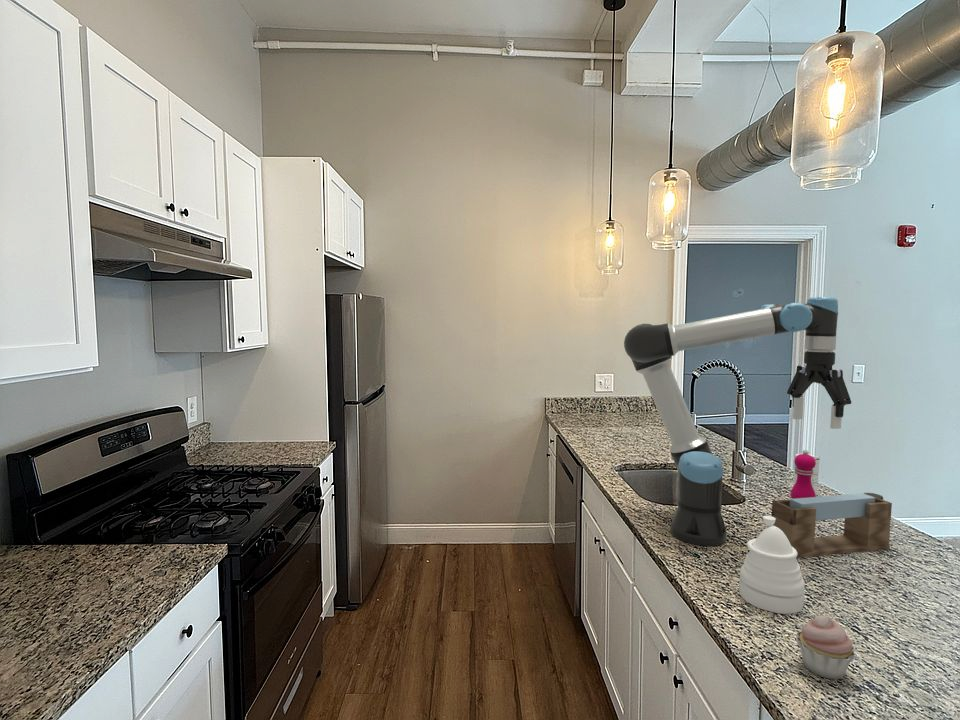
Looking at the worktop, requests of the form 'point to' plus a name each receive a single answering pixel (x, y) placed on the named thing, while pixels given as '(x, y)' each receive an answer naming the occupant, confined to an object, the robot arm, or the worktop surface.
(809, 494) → the pepper mill
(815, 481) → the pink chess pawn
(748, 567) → the honey pot
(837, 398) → the robot arm
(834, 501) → the rail
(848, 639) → the cupcake
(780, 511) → the bracket
